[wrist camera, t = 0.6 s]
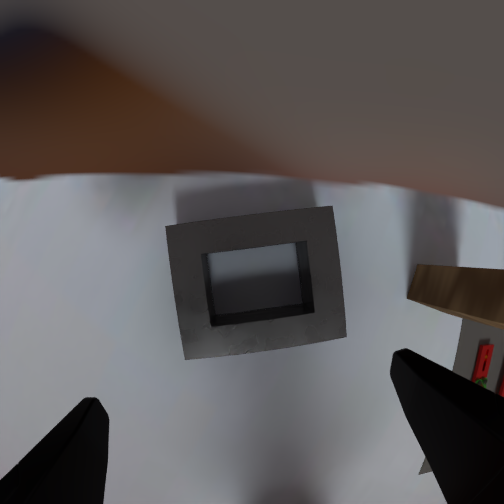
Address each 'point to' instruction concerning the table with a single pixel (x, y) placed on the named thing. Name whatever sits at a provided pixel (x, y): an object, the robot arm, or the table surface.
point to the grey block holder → (264, 320)
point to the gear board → (479, 359)
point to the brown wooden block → (461, 292)
